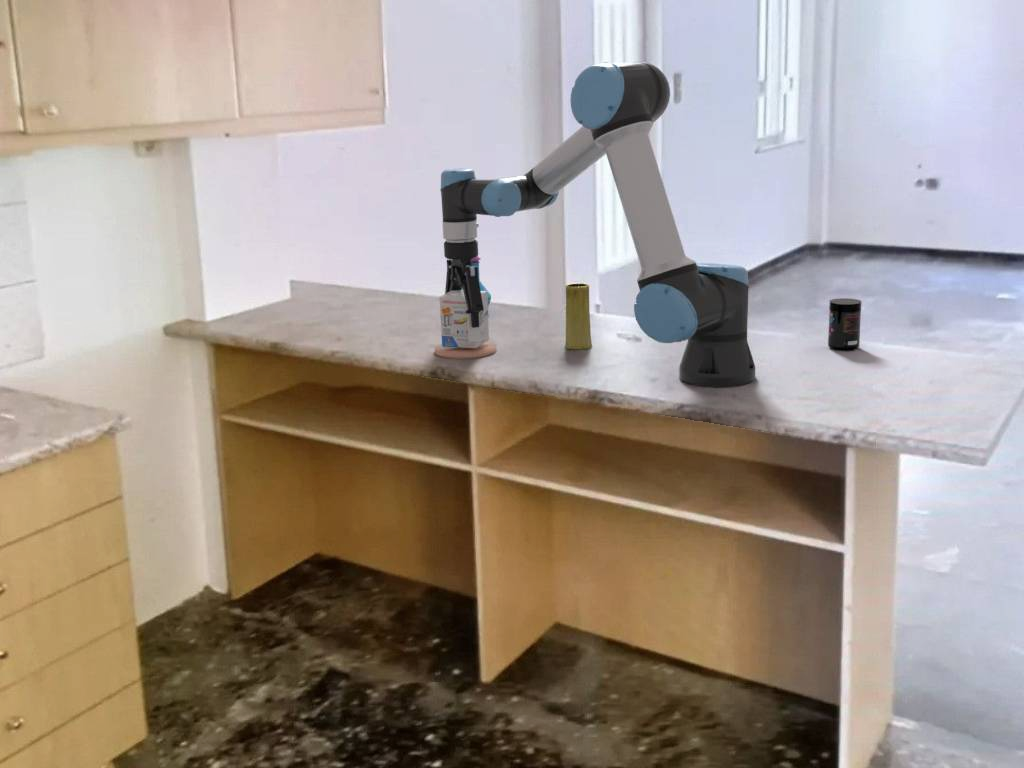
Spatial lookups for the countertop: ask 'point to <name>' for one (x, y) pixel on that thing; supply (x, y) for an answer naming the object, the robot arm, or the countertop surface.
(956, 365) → the countertop surface
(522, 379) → the countertop surface
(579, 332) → the vase
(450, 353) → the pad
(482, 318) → the ink box
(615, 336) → the countertop surface
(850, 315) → the supplement container
